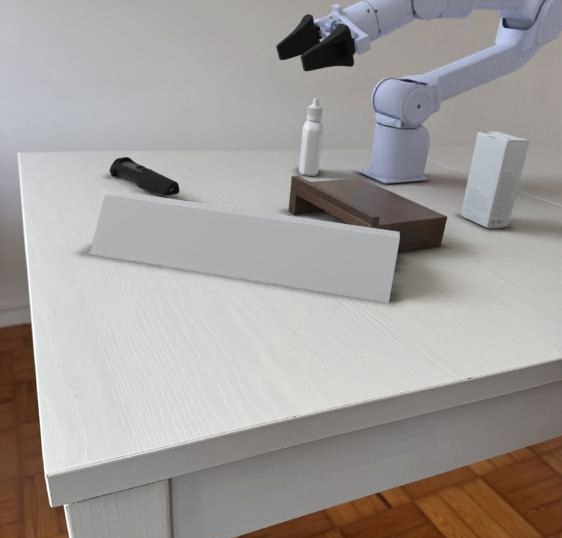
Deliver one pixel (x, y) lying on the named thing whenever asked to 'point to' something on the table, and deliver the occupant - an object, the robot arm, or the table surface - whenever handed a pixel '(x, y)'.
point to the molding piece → (248, 245)
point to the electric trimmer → (143, 177)
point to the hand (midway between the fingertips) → (290, 58)
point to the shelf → (370, 209)
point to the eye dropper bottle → (311, 141)
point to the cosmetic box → (494, 178)
